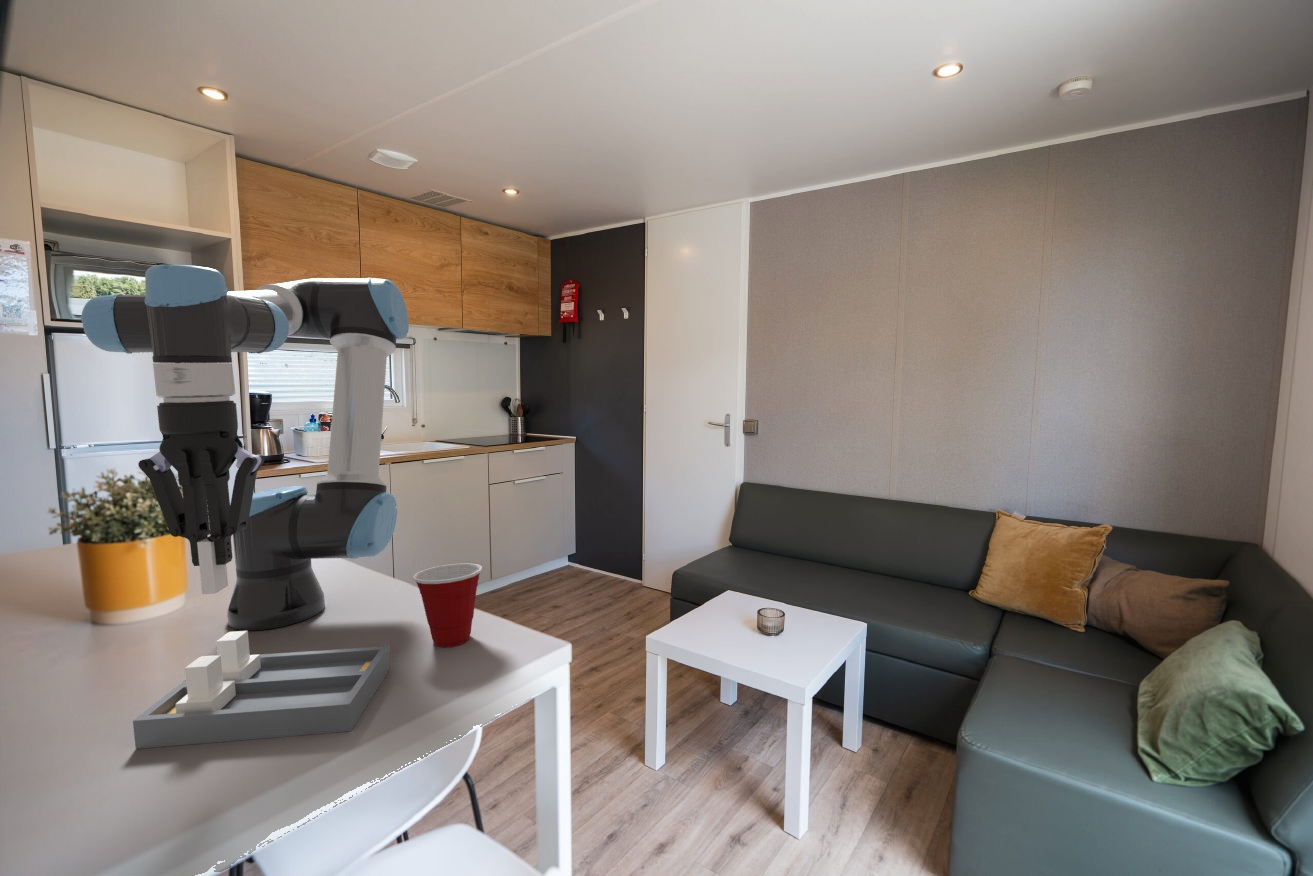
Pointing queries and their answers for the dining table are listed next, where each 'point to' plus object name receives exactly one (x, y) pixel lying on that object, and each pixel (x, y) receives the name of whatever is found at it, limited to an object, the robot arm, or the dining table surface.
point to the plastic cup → (449, 601)
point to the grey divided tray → (275, 700)
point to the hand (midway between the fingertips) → (215, 589)
